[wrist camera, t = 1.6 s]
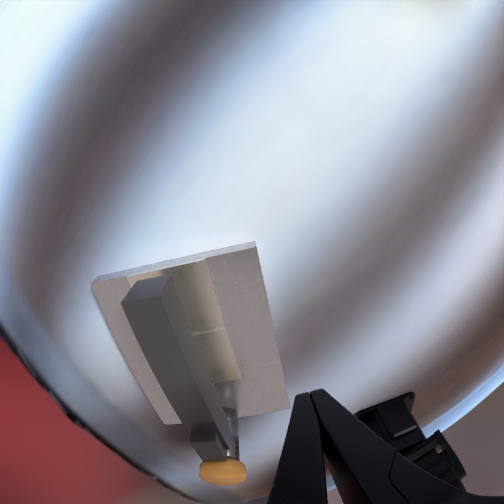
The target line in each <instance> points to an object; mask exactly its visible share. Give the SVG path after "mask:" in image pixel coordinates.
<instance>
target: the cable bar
mask: <svg viewBox="0 0 504 504" xmlns="http://www.w3.org/2000/svg"><path fill="white" fill-rule="evenodd" d="M121 305H122V308H123V310H124V312H125V315H126V317H127V319H128V322H129V324H130V326H131V328H132V330H133V333H134V335H135V337H136V339H137V341H138V343H139V345H140V348H141V350H142V352H143V354H144V356H145V358H146V360H147V362H148V364H149V366H150V368H151V370H152V371H153V373H154V375H155V377H156V379H157V381H158V383H159V385H160V386H161V388H162V390H163V392H164V394H165V395H166V397H167V399H168V401H169V402H170V404H171V406H172V407H173V409H174V411H175V412H176V414H177V416H178V417H179V419H180V421H181V422H182V424H183V425H184V427H185V429H186V430H187V432H188V433H189V435H190V436H191V438H190V444H191V445H192V446H193V448H194V449H195V451H196V452H197V454H198V455H199V456H200V458H201V459H202V460H203V462H202V463H201V464H200V471H199V476H200V478H201V479H202V480H204V481H206V482H208V483H211V484H216V485H233V484H238V483H240V482H242V481H244V480H245V479H246V467H245V465H244V464H243V463H242V462H240V461H237V460H234V459H229V458H227V450H230V425H229V421H228V419H227V416H226V414H225V412H224V410H223V408H222V405H221V403H220V401H219V399H218V396H217V394H216V392H215V389H214V387H213V385H212V382H211V380H210V378H209V375H208V373H207V370H206V368H205V365H204V363H203V360H202V358H201V355H200V353H199V350H198V348H197V345H196V343H195V340H194V337H193V335H192V332H191V329H190V327H189V324H188V321H187V318H186V316H185V313H184V310H183V307H182V304H181V302H180V299H179V296H178V293H177V290H176V287H175V284H174V281H173V278H172V275H171V274H167V275H163V276H158V277H153V278H149V279H144V280H139V281H136V283H135V284H134V285H133V287H132V288H131V289H130V291H129V292H128V293H127V295H126V296H125V298H124V299H123V300H122V302H121Z"/></svg>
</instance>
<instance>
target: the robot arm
mask: <svg viewBox="0 0 504 504" xmlns="http://www.w3.org/2000/svg"><path fill="white" fill-rule="evenodd" d="M414 399H415V394H414V392H410V393H407V394H405V395H402V396H400V397H398V398H395V399H393V400H390V401H387V402H385V403H382V404H379V405H377V406H374V407H371V408H368V409H365V410H363V411H360V412H359V413H358V414H357V418H356V417H355V416H354V415H353V414H352V413H350V412H349V411H348V410H347V409H346V408H345V407H343V406H342V405H341V404H340V403H339V402H338V401H337V400H335V399H334V398H333V397H332V396H331V395H330V394H329V393H327V392H326V391H325V390H324V389H318V390H314V391H311V392H310V394H309V393H308V392H306V393H302V394H298V395H296V396H295V400H294V405H293V409H292V413H291V418H290V422H289V426H288V430H287V434H286V438H285V442H284V446H283V450H282V453H281V457H280V461H279V465H278V468H277V472H276V475H275V479H274V482H273V487H272V488H271V492H270V495H269V498H268V501H267V504H328V501H327V488H326V477H325V466H324V458H325V460H326V463H327V465H328V468H329V470H330V472H331V475H332V477H333V480H334V482H335V484H336V487H337V489H338V492H339V494H340V496H341V499H342V501H343V503H344V504H504V496H481V495H474V494H471V493H468V492H466V490H465V488H464V486H463V484H462V482H461V480H462V479H463V478H465V477H466V476H467V475H466V472H465V470H464V468H463V466H462V464H461V462H460V460H459V459H458V457H457V456H456V454H455V452H454V451H453V450H452V448H451V447H450V445H449V444H448V442H447V441H446V439H445V438H444V436H443V435H442V434H441V432H440V431H439V429H438V430H437V431H436V432H434V434H433V435H431V436H430V437H429V438H427V439H426V437H425V435H424V434H423V432H422V430H421V429H420V427H419V425H418V424H417V422H416V420H415V419H414V417H413V415H412V414H411V410H412V406H413V402H414ZM440 450H442V452H441V453H439V454H438V453H437V452H439V451H440ZM323 455H324V456H323Z"/></svg>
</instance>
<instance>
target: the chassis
mask: <svg viewBox="0 0 504 504" xmlns="http://www.w3.org/2000/svg"><path fill="white" fill-rule="evenodd" d="M167 274H171V275H172V278H173V281H174V284H175V287H176V290H177V293H178V296H179V299H180V302H181V304H182V307H183V310H184V313H185V316H186V318H187V321H188V324H189V327H190V329H191V332H192V335H193V337H194V340H195V343H196V345H197V348H198V350H199V353H200V355H201V358H202V360H203V363H204V365H205V368H206V370H207V373H208V375H209V378H210V380H211V382H212V385H213V387H214V389H215V392H216V394H217V396H218V399H219V401H220V403H221V405H222V408H223V410H224V412H225V414H226V416H227V419H228V421H229V425H230V450H227V458H229V459H234V460H237V461H240V459H239V435H238V418H239V417H246V416H252V415H258V414H264V413H269V412H274V411H279V410H284V409H289V408H290V404H289V399H288V394H287V390H286V385H285V380H284V375H283V370H282V366H281V361H280V356H279V351H278V346H277V342H276V337H275V332H274V327H273V323H272V318H271V313H270V309H269V304H268V299H267V294H266V290H265V285H264V280H263V276H262V271H261V266H260V262H259V257H258V252H257V248H256V244H255V241H253V242H248V243H244V244H239V245H235V246H230V247H226V248H221V249H217V250H212V251H208V252H203V253H199V254H194V255H190V256H185V257H181V258H176V259H172V260H168V261H163V262H159V263H154V264H150V265H146V266H141V267H137V268H133V269H128V270H124V271H120V272H115V273H111V274H107V275H103V276H98V277H97V278H96V279H95V280H94V281H93V282H92V283H91V286H92V289H93V291H94V294H95V296H96V299H97V301H98V303H99V306H100V308H101V310H102V313H103V315H104V317H105V319H106V321H107V324H108V326H109V328H110V330H111V332H112V334H113V336H114V338H115V340H116V342H117V344H118V346H119V348H120V350H121V352H122V354H123V356H124V358H125V360H126V362H127V364H128V365H129V367H130V369H131V371H132V373H133V374H134V376H135V378H136V380H137V381H138V383H139V385H140V387H141V388H142V390H143V392H144V393H145V395H146V397H147V398H148V400H149V401H150V403H151V405H152V406H153V408H154V409H155V411H156V412H157V414H158V416H159V417H160V419H161V420H162V422H163V423H164V425H166V424H182V422H181V421H180V419H179V417H178V416H177V414H176V412H175V411H174V409H173V407H172V406H171V404H170V402H169V401H168V399H167V397H166V395H165V394H164V392H163V390H162V388H161V386H160V385H159V383H158V381H157V379H156V377H155V375H154V373H153V371H152V370H151V368H150V366H149V364H148V362H147V360H146V358H145V356H144V354H143V352H142V350H141V348H140V345H139V343H138V341H137V339H136V337H135V335H134V333H133V330H132V328H131V326H130V324H129V322H128V319H127V317H126V315H125V312H124V310H123V308H122V305H121V302H122V300H123V299H124V298H125V296H126V295H127V293H128V292H129V291H130V289H131V288H132V287H133V285H134V284H135V283H136V281H139V280H144V279H149V278H153V277H158V276H163V275H167Z"/></svg>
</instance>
